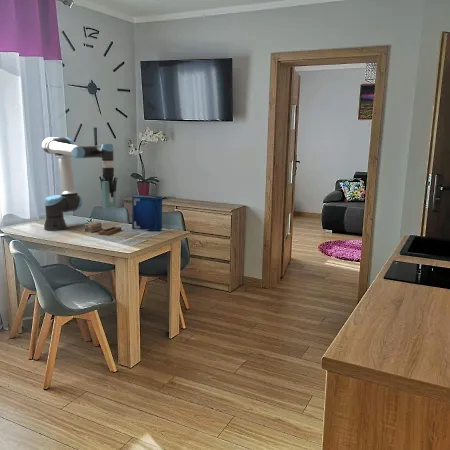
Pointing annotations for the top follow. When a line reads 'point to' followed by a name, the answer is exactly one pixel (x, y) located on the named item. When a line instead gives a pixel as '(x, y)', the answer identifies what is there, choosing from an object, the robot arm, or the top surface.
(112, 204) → the teal slotted panel
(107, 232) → the slot rack
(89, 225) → the offcut stack
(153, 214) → the book
